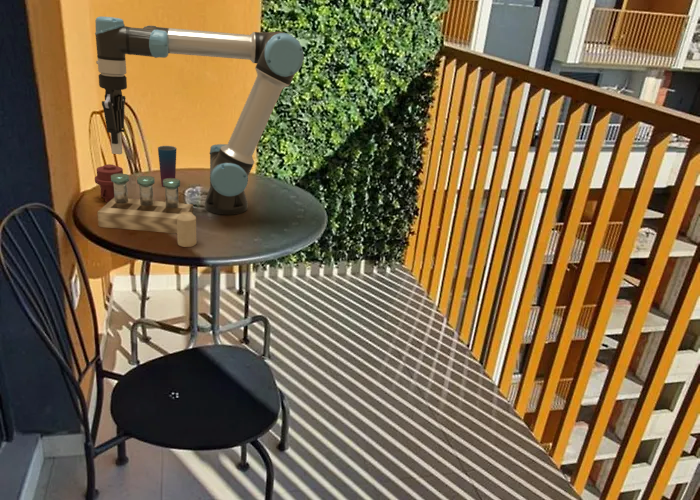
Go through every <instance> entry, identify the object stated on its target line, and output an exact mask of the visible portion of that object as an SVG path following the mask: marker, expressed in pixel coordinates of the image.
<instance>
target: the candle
mask: <svg viewBox="0 0 700 500" xmlns="http://www.w3.org/2000/svg"><path fill="white" fill-rule="evenodd" d="M176 234H177V235H176V236H177V245H178V246H180V247H183V248H190V247H194V246H196V244H197V216H196V215H194V213H193V214H192V213H191V212H182V213H181V214H180V215H179V216H178V217H177V233H176Z"/></svg>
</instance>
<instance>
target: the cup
mask: <svg viewBox="0 0 700 500" xmlns="http://www.w3.org/2000/svg"><path fill="white" fill-rule="evenodd" d="M157 151H158V152H157V153H158V164H159V173H160V182H161V187H163V188H165V187H164V186H163V180H164V179H167V178H175V179H176V174H177V173H176V172H177V170H176V167H177V147H176V146H173V145H160V146H158V147H157Z"/></svg>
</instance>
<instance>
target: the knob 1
mask: <svg viewBox="0 0 700 500" xmlns="http://www.w3.org/2000/svg"><path fill="white" fill-rule="evenodd" d="M111 181H112V182H113V183H114V197H115V202H116V203H120V204H122V203H127V202H128V199H129V188H128V182H130V176H129V174H126V173H123V174H113V175H111Z"/></svg>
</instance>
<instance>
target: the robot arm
mask: <svg viewBox="0 0 700 500" xmlns="http://www.w3.org/2000/svg"><path fill="white" fill-rule="evenodd" d="M94 20H95V33H94V34H95V44H96V45H95V47H96V55H97V56H96V58H97V60H96V62H95V63H96V64H97V69H98V70H97V71H98V73H99V74H98V86H99V87H100V88H101V89H104V90H105V92H104V93H105V94H104V100H102V101H101V106H102V109H103V114H104V120H105V125H106V126H105V127H106V133H110V147H111V154H113V155H114V154H115V155H122V154H123V142H122V141H123V140H122V137H123V136H122V133H124V132H125V129H124V128H125V105H126V96H125V95H124V94H123V92H122V91H123V90H126V89H127V88H128V85H127V83H128V81H127V80H128V79H127V77H126V74H127V60H126V55H130V56H131V55H132V56H134V55H135V56H142V57H151V58H155V59H157V58H158V59H159V58H163V59H164V58H167V57H168V56H169V54H173V55H175V54H176V55H186V56H197V57H211V58H223V59H237V60H238V59H239V60H249V61H250V62H251V63H252V64H256V65H255V68H254V69H255V71H256V78H255V80H254V82H253V84H252V87H251V89H250V92H249V94H248V97H246V101H245V104H244V106H243V107H242V111H241V113H240V114H239V117H238V119H237V122H236V124H235V127H234V129H233V130H232V133H231V136H230V138H229V140H228V142H227V144H225V143H219V144H213V145H211V146H210V149H209V150H210V151H209V189H208V192H207V194H206V198H205V202H204V207H205V210H207V211H208V212H210V213H212V214H213V213H214V214H217V215H227V216H228V215H238V214H243V213H245V212H247V211H248V206H249V205H248V204H249V203H248V202H249V201H248V199H247V197H246V193H245V190H246V188H247V185H248V182H249V175H250V173H251V170H252V169H253V166H254V164H255V161H254V158H253V155H254V153H255V150H256V148H257V146H258V144H259V142H260V140H261V137H262V135H263V132H264V130H265V129H266V126H267V124H268V122H269V120H270V117H271V116H272V113H273V111H274V108H275V106H276V104H277V102H278V100H279V97H280V96H281V94H282V91H283V89H284V88H287V87H289V86H290V85H291V83H292V81H293V78H294V77H295V75H296V74H297V73H298V72H299V71H300V69H301V68H302V66H303V63H304V57H305V56H304V55H305V54H304V50H303V47H302V45H301V43H300V41H299V40H298V39H297V38H296V37H295V36H293V35H292V34H289V33H287V32H284V31H280V30H279V31H267V32H260V31H259V32H258V31H252V33H251V34H245V33H234V32H233V33H229V32H222V31H221V32H218V31H209V30H198V29H197V30H196V29H186V28H185V29H184V28H176V27H175V28H174V27H172V28H171V27H161V26H156V25H146V26H144V27H141V28H140V27H131V26H125V23H124V19H122V18H119V17H114V16H103V15H102V16H98V17H96V18H95V19H94Z"/></svg>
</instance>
